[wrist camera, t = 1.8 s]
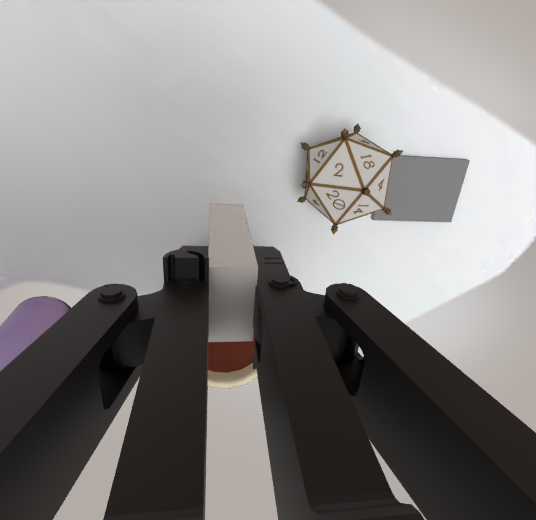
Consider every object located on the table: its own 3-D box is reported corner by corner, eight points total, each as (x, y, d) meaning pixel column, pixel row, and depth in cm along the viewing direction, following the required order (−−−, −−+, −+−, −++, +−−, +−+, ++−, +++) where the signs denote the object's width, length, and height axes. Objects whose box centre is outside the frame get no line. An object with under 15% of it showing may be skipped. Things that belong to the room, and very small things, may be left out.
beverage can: (14, 290, 36) (-101, 410, 23) (79, 295, 37) (6, 412, 24) (19, 338, 38) (-83, 472, 25) (80, 342, 40) (14, 472, 26)
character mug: (273, 241, 38) (302, 309, 26) (271, 299, 41) (295, 383, 29) (167, 244, 36) (146, 317, 25) (172, 304, 39) (157, 395, 28)
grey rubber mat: (371, 218, 38) (373, 220, 38) (384, 154, 36) (387, 155, 35) (447, 220, 40) (450, 222, 39) (466, 159, 37) (469, 160, 36)
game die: (376, 195, 37) (428, 229, 28) (298, 221, 37) (326, 263, 28) (362, 105, 33) (418, 112, 24) (274, 134, 33) (298, 152, 24)
